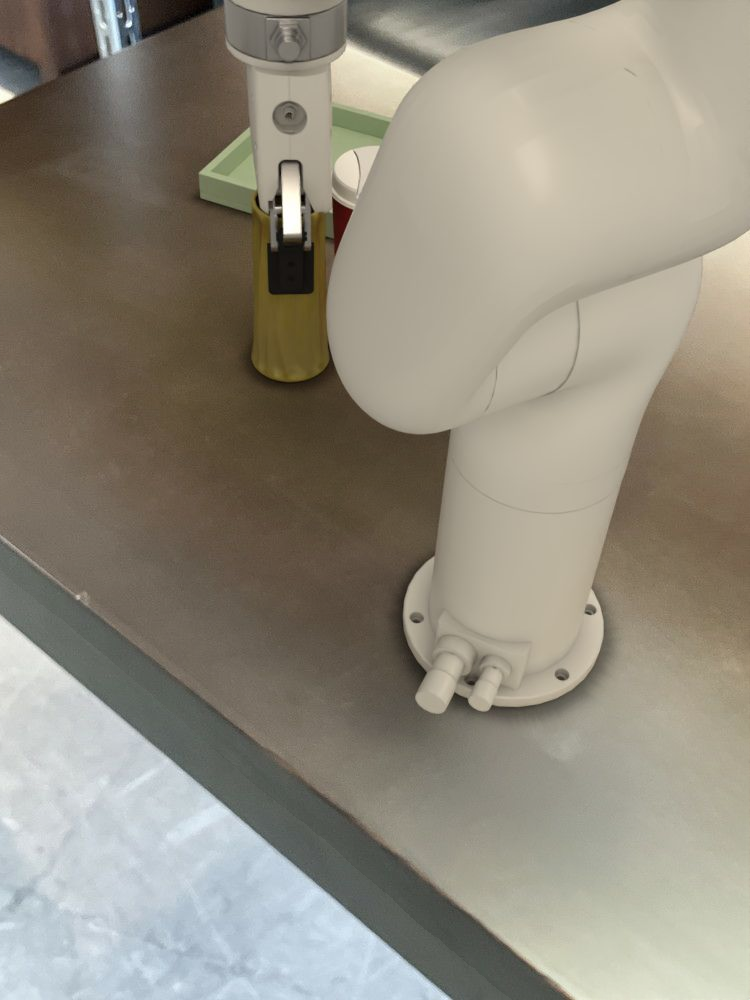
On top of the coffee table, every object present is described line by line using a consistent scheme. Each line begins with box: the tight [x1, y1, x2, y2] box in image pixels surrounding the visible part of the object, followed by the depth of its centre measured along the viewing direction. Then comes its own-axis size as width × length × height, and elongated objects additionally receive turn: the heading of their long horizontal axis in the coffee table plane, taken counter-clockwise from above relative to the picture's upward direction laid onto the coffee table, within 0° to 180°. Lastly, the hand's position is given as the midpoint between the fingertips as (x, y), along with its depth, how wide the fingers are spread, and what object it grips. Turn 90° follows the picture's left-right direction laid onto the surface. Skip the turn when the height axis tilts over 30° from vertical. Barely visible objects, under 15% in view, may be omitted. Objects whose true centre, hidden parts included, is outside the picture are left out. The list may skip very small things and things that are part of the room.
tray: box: [198, 101, 393, 240], centre depth 107 cm, size 18×16×3 cm
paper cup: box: [332, 146, 380, 257], centre depth 88 cm, size 8×8×14 cm
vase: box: [250, 189, 331, 383], centre depth 85 cm, size 6×6×14 cm
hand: (289, 263), depth 83 cm, fingers open, 5 cm apart
